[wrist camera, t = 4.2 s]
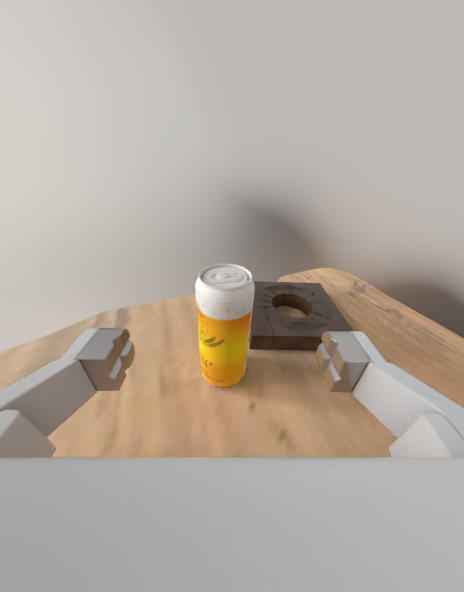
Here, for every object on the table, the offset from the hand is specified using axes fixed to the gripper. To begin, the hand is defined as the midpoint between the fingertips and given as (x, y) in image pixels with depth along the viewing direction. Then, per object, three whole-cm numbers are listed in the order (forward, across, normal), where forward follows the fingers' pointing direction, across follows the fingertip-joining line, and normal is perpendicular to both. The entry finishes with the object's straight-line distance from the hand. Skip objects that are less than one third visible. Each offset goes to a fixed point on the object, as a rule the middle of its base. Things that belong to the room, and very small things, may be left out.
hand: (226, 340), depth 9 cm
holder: (+24, -12, +18) cm, 33 cm away
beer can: (+12, 0, +18) cm, 22 cm away
